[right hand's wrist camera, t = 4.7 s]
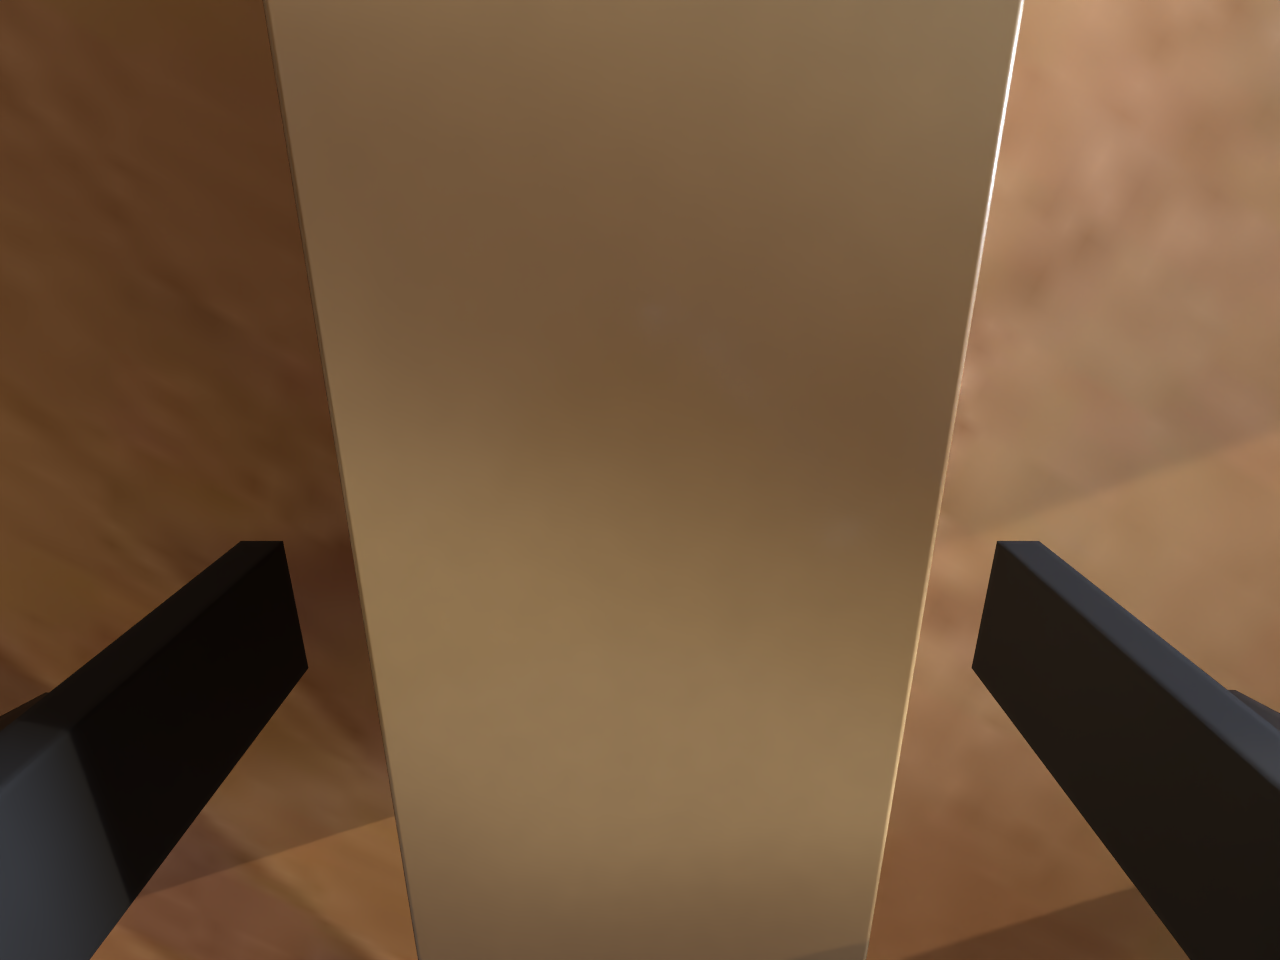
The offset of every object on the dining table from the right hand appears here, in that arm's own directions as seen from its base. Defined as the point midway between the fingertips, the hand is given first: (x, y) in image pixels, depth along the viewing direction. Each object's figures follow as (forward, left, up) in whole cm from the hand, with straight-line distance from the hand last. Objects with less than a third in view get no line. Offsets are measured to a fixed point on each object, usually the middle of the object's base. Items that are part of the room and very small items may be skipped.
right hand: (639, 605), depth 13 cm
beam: (-11, -34, -3) cm, 35 cm away
